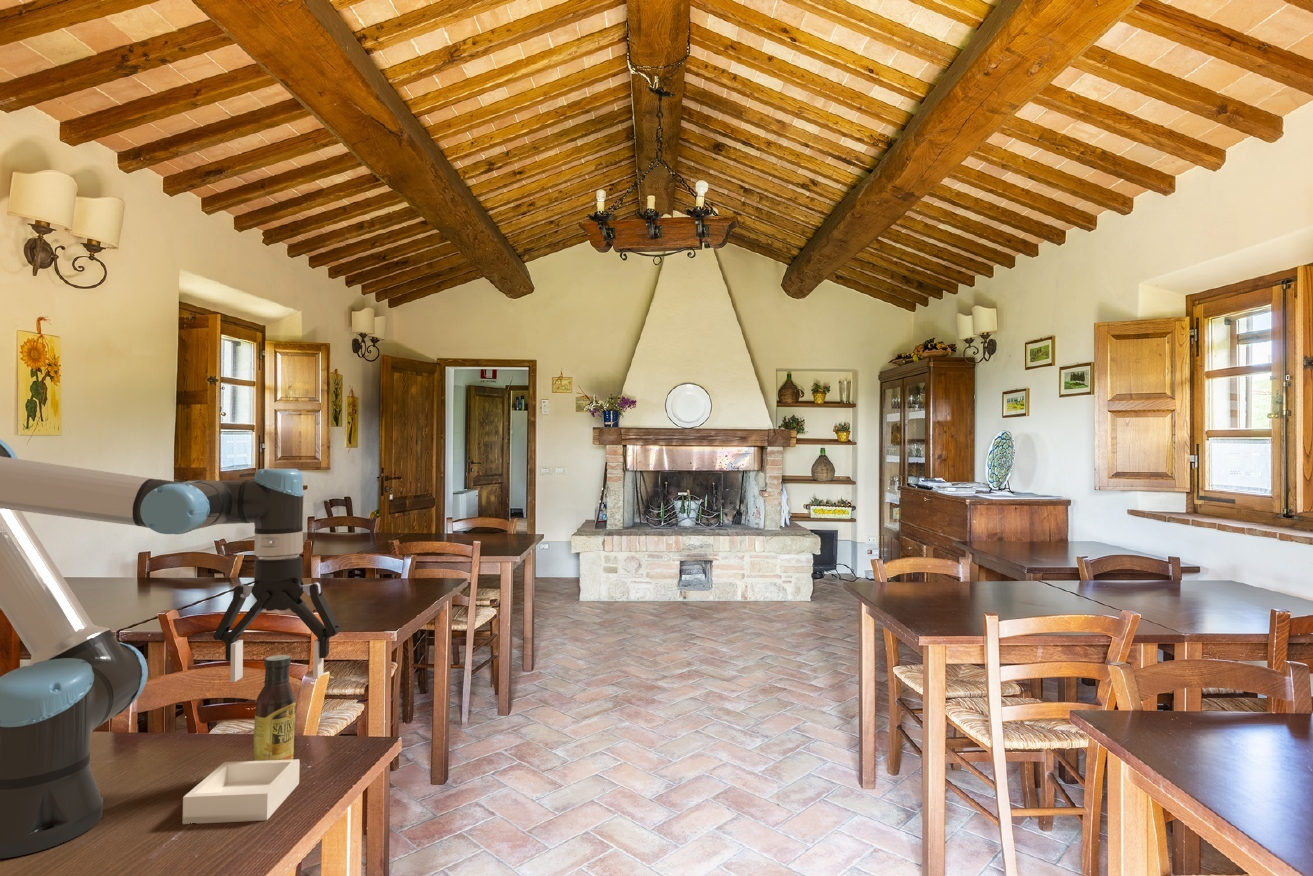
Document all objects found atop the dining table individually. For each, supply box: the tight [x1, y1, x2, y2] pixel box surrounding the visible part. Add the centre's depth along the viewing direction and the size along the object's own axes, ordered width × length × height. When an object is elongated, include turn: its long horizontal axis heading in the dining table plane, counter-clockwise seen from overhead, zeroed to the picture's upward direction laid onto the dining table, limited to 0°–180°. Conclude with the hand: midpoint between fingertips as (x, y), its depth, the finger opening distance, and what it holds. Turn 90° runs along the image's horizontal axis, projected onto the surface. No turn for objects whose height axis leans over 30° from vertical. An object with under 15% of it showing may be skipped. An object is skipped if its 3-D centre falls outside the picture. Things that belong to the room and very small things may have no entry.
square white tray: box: [182, 758, 301, 825], centre depth 110 cm, size 12×12×4 cm
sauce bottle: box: [252, 654, 297, 761], centre depth 121 cm, size 7×6×20 cm
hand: (277, 678), depth 121 cm, fingers open, 13 cm apart
